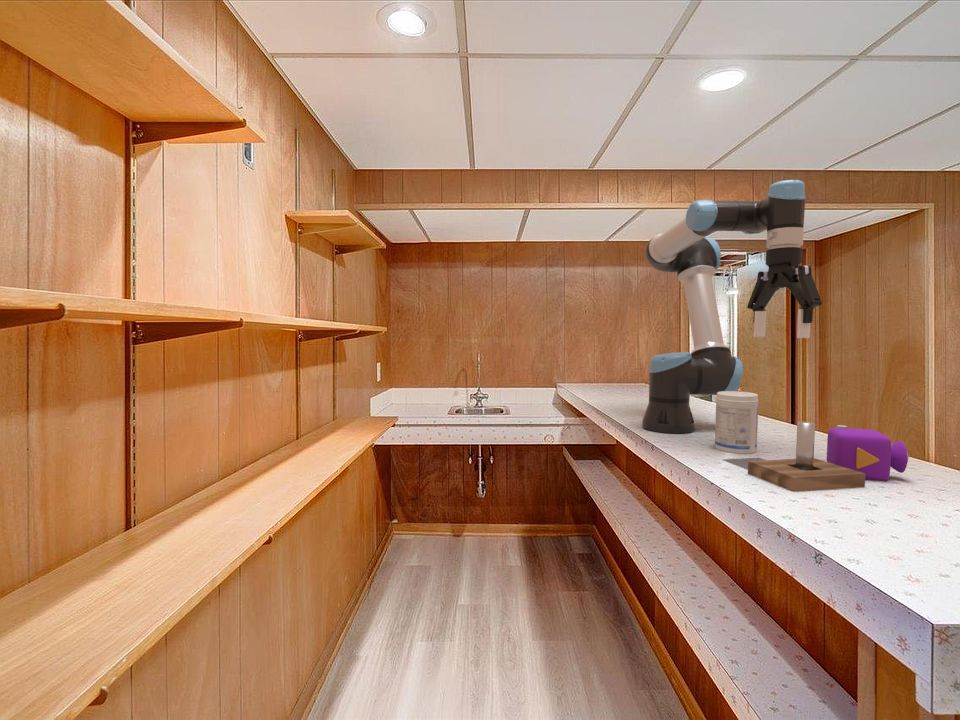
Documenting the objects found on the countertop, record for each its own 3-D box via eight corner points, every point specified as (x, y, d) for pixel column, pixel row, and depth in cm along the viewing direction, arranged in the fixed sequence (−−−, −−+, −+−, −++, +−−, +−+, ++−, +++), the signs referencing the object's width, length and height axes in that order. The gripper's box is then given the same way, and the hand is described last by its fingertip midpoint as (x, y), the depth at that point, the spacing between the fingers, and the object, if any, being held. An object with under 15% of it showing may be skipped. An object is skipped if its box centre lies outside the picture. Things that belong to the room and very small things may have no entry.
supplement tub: (728, 445, 134) (730, 389, 133) (764, 452, 126) (767, 394, 125) (706, 449, 129) (708, 392, 128) (742, 457, 121) (744, 396, 120)
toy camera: (919, 486, 100) (922, 436, 99) (841, 481, 102) (844, 432, 102) (887, 471, 110) (889, 425, 110) (817, 467, 113) (819, 423, 112)
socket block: (747, 475, 106) (748, 461, 106) (812, 471, 109) (813, 457, 109) (793, 493, 94) (794, 477, 94) (864, 488, 98) (865, 473, 97)
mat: (721, 461, 117) (721, 459, 117) (759, 459, 119) (759, 457, 119) (759, 476, 106) (759, 474, 106) (800, 473, 108) (800, 471, 108)
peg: (791, 479, 103) (793, 421, 102) (803, 479, 104) (806, 421, 103) (803, 484, 100) (806, 424, 99) (816, 483, 101) (818, 424, 100)
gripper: (734, 255, 132) (731, 336, 133) (814, 238, 108) (810, 338, 109) (759, 256, 133) (756, 336, 135) (844, 240, 109) (839, 338, 110)
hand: (780, 337), depth 122 cm, fingers open, 13 cm apart
